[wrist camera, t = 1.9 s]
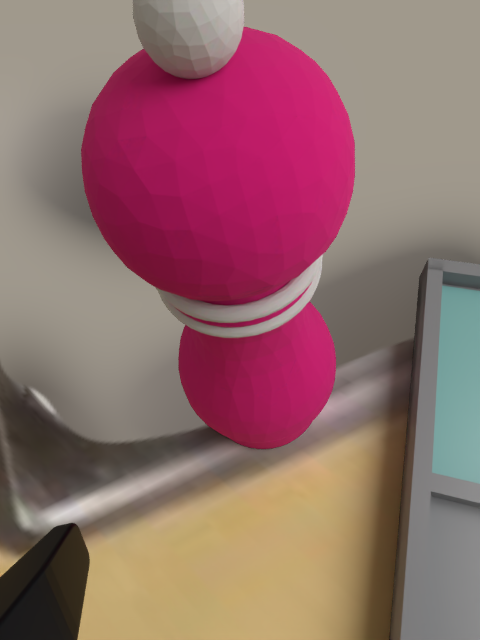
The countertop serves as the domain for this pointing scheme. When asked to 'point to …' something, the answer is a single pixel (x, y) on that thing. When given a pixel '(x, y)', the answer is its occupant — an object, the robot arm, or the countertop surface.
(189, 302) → the pepper mill
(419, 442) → the sorting tray
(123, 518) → the countertop surface
